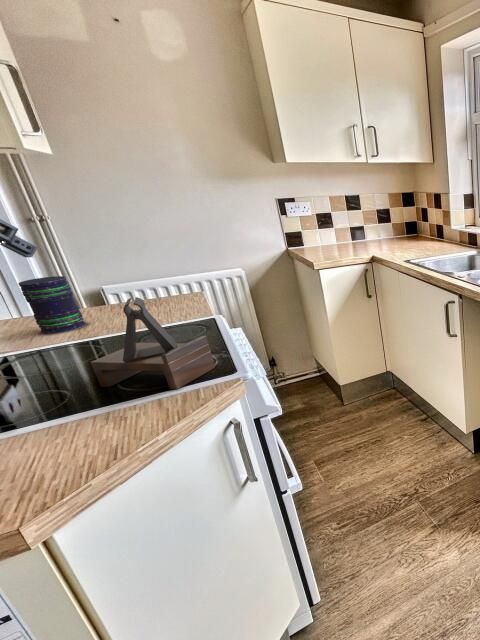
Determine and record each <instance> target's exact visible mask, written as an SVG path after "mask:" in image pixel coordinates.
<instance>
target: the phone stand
mask: <svg viewBox="0 0 480 640" xmlns="http://www.w3.org/2000/svg"><path fill="white" fill-rule="evenodd" d="M131 301H132V298H131V297H129V298H128V299H127V300H126V302H125V304H124V307H123V308H122V309H123V313H124V315H125V317H126V326H125V337H124V347H123V348H124V355H123V361H124V362H129V361H133V360H138V359H143V358H148V357H150V356H152V357H153V356H158V355H162V354H164V353H166V352H169V351H171V350H173V349H175V348H176V343H177V341H176V340H175V339H174V338H173V336H172V335H170V333H169V332H168V331H167V330H165V328H164V327H163V326H162V325H161V324H160V323H159V321H158V320H157V319H156V318H155V317H154V316H153V315H152V314H151V313H150V312H149V311H148V309H147V307H146V304H145V301H144V299H142V298H140V297H138V296H136V297H135V299H134V301H133V305H134V306H137V307H139V308H138V309H134V308H131V306H130V303H131ZM136 320H139V321H141V322H142V323H143V325H144V326H145V327H146V328H147V331H149V333H150V334H151V335H152V337H154V339H155V340H156V341H157V343H159V344H160V346H154V347H149V348H144V349H139V350H138V349H136V343H137V327H136V326H137V325H136V324H137V323H136Z"/></svg>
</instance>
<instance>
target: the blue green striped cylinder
mask: <svg viewBox="0 0 480 640" xmlns="http://www.w3.org/2000/svg"><path fill="white" fill-rule="evenodd" d="M17 285H18V286H19V287H20V290H21V292H22V296H23V297H24V299H25V301H26V303H28V304H29V306H30V308H31V310H32V313H33V317H34V320H35V323H36V325H37V326H38V328H39V329H40V333H41V334H44V335H50V334H51V335H52V334H53V335H54V334H60V333H66V332H70V331H75V330H78V329H81V328H83V327H85V326H86V322H85V320H84V316H83V313H82V312H81V310H80V307H79V306H78V305H77V303H76V301H75V298H74V294H73V291H72V288H71V285H69V282H68V281H67V277H66V276H62V275H58V276H57V275H56V276H55V275H54V276H45V277H37V278H33V279H32V278H31V279H27V280H23V281H19V282H18V283H17Z"/></svg>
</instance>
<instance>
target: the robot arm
mask: <svg viewBox="0 0 480 640" xmlns="http://www.w3.org/2000/svg"><path fill="white" fill-rule="evenodd" d="M18 231H19V228H18V227H16V226H14V225H12V224H10V223H8V222H6V221H5V220H3V219H2V218H0V246H2V247H4V248H6V249H8V250H9V251H12V252H13V253H16V254H18V255H19V256H21V257H24V258H33V257H34V255H35V254H36V252H37V246H36V245H34V244H33V243H31V242H29V241H27V240H25V239H23V238H21V237H20V236H18V235H16V234H17V233H18Z"/></svg>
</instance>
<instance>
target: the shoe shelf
mask: <svg viewBox="0 0 480 640" xmlns="http://www.w3.org/2000/svg"><path fill="white" fill-rule="evenodd" d="M154 346H160V344H159V343H158V342H136V349H138V350H139V349H144V348H149V347H154ZM123 355H124V347H123V348H120V349H119V350H116V351H113V352H112V353H109V354H106V355H105V356H102V357H99V358H97V359H95V360H92V361H90V365H91V367H92V369H93V372H94V374H95V375H96V379H97V380H98V383H99V386H100V387H101V388H110V387H112V386H114V385H116V384H119V383H121V382H122V381H124V380H127V379H129V378H131V377H133V376H134V375H137V374H139V373H141V372H163V375H164V377H165V379H166V382H167V386H168V388H169V389H170V390H179V389H180V388H182V387H184V386H186V385H187V384H189V383H191V382H192V381H194V380H196V379H198V378H200V377H201V376H203V375H205V374H207V373H208V372H210V371H212V370H213V369H215V368H216V363H215V360H214V357H213V354H212V351H211V347H210V345H209V341H208V338H207V336H206V335H201V336H198V337H197V338H194V339H192V340H190V341H187V342H185V343H183V342H182V343H181V342H180V343H178V342H176V348H175V349H173V350H171V351H169V352H166V353H164V354H162V355H158V356H153V357H152V356H150V357H148V358H143V359H138V360H133V361H129V362H124V361H123Z"/></svg>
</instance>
